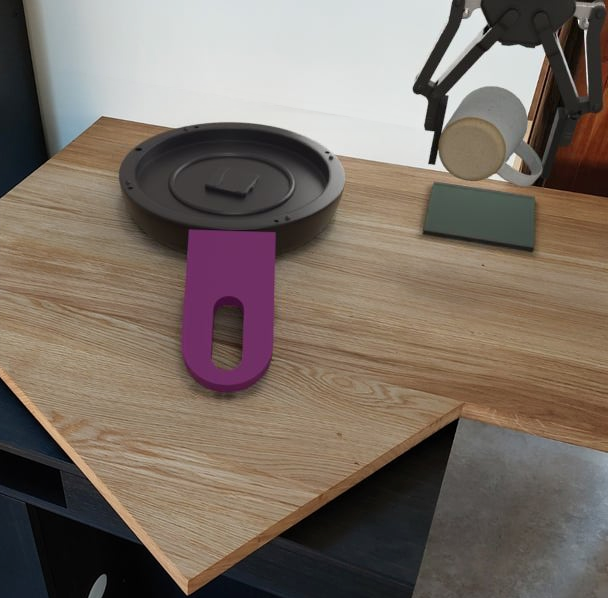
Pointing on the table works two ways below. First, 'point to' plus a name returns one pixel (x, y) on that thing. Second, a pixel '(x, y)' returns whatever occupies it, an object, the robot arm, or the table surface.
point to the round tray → (231, 183)
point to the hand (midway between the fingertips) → (487, 166)
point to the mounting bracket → (229, 303)
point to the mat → (481, 216)
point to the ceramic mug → (488, 138)
